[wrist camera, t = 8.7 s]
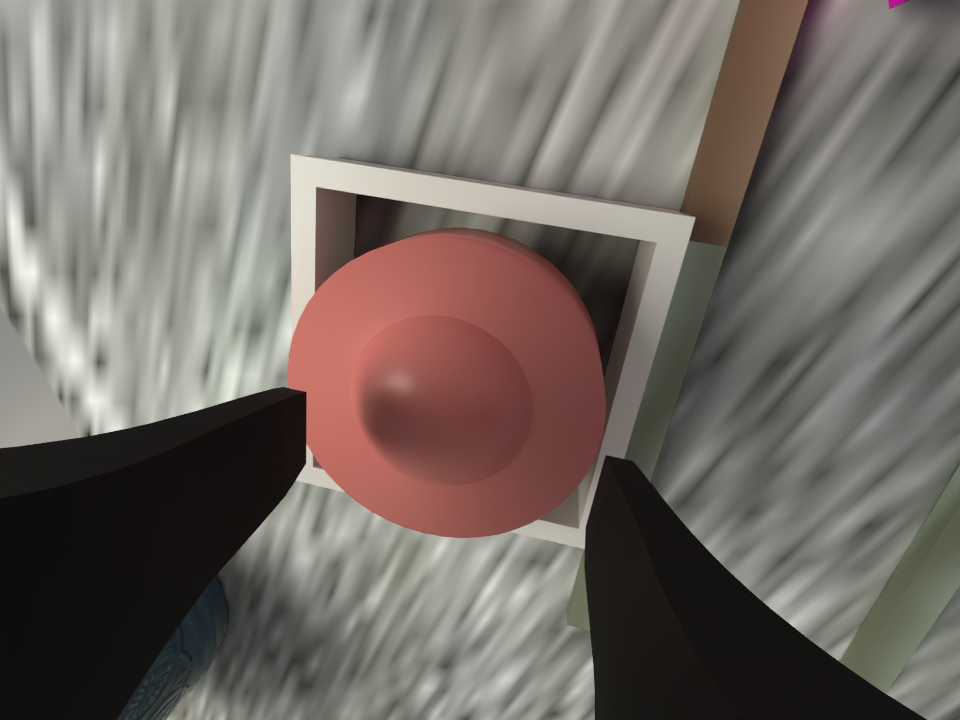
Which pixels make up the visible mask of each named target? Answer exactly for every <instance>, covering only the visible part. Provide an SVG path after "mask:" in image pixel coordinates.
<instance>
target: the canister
mask: <svg viewBox="0 0 960 720" xmlns="http://www.w3.org/2000/svg"><path fill="white" fill-rule="evenodd" d="M226 628H227V608H226V603H225V599H224V595H223V592H222V590H221V587H220V585H219V582H218V580H217V578H216V576H215V578H214V579H213V580H212V581H211V583H210V584H209V585H208V586H207V587H206V589H205V590H204V592H203V593H202V594H201V596H200V597H199V599H198V600H197V601H196V603H195V604H194V606H193V607H192V608H191V610H190V611H189V612H188V614H187V615H186V617H185V618H184V619H183V621H182V622H181V624H180V625H179V626H178V628H177V629H176V631H175V632H174V634H173V635H172V637H171V638H170V640H169V641H168V643H167V644H166V645H165V647H164V648H163V650H162V651H161V653H160V654H159V656H158V657H157V659H156V660H155V662H154V663H153V665H152V666H151V668H150V669H149V671H148V672H147V673H146V675H145V677H144V678H143V680H142V681H141V683H140V684H139V686H138V688H137V689H136V691H135V692H134V694H133V695H132V697H131V699H130V700H129V702H128V703H127V705H126V706H125V708H124V710H123V711H122V713H121V714H120V716H119V717H118V719H117V720H166V719H167V718H168V717H169V715H170V714H171V712H172V711H173V710H174V708H175V707H176V706H177V704H178V703H179V702H180V700H181V699H182V698H183V697H185V696H186V695H187V694H189V693H190V692H191V691H192V690H193V689H194V687H195V686H196V685H197V683H198V682H199V680H200V678H201V677H202V676H203V675H204V674H205V672H206V671H207V670H208V668H209V667H210V665H211V663H212V661H213V659H214V656H215V653H216V650H217V649H218V647H219V646H220V644H221V642H222V640H223V638H224V636H225V632H226Z"/></svg>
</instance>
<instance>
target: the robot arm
mask: <svg viewBox="0 0 960 720" xmlns="http://www.w3.org/2000/svg"><path fill="white" fill-rule="evenodd" d="M306 412H307V392H304V391H300V390H295V389H290V388H285V387H281V388H275V389H271V390H267V391H263V392H259V393H255V394H252V395H249V396H245V397H242V398H238V399H235V400H232V401H228V402H225V403H222V404H218V405H215V406H212V407H208V408H205V409H202V410H198V411H195V412H191V413H187V414H184V415H180V416H176V417H172V418H169V419H165V420H161V421H157V422H154V423H150V424H146V425H142V426H137V427H133V428H128V429H124V430H119V431H114V432H109V433H104V434H98V435H93V436H88V437H82V438H75V439H68V440H62V441H54V442H47V443H41V444H33V445H26V446H18V447H9V448H0V720H117V719H118V717H119V716H120V714H121V713H122V711H123V710H124V708H125V706H126V705H127V703H128V702H129V700H130V699H131V697H132V695H133V694H134V692H135V691H136V689H137V688H138V686H139V684H140V683H141V681H142V680H143V678H144V677H145V675H146V673H147V672H148V671H149V669H150V668H151V666H152V665H153V663H154V662H155V660H156V659H157V657H158V656H159V654H160V653H161V651H162V650H163V648H164V647H165V645H166V644H167V643H168V641H169V640H170V638H171V637H172V635H173V634H174V632H175V631H176V629H177V628H178V626H179V625H180V624H181V622H182V621H183V619H184V618H185V617H186V615H187V614H188V612H189V611H190V610H191V608H192V607H193V606H194V604H195V603H196V601H197V600H198V599H199V597H200V596H201V594H202V593H203V592H204V590H205V589H206V587H207V586H208V585H209V584H210V583H211V581H212V580H213V579H214V578H215V576H216V575H217V574H218V573H219V571H220V570H221V569H222V568H223V567H224V566H225V564H226V563H227V562H228V561H229V560H230V559H231V558H232V557H233V555H234V554H235V553H236V552H237V551H238V550H239V549H240V547H241V546H242V545H243V544H244V543H245V542H246V541H247V540H248V538H249V537H250V536H251V535H252V534H253V533H254V532H255V530H256V529H257V528H258V527H259V526H260V525H261V524H262V523H263V521H264V520H265V519H266V518H267V517H268V516H269V514H270V513H271V512H272V511H273V510H274V509H275V507H276V506H277V505H278V504H279V503H280V502H281V500H282V499H283V498H284V497H285V495H286V494H287V492H288V491H289V489H290V488H291V487H292V485H293V484H294V482H295V481H296V479H297V477H298V476H299V474H300V473H301V471H302V469H303V468H304V466H305V465H306ZM584 570H585V582H586V593H587V603H588V614H589V624H590V634H591V645H592V655H593V665H594V683H595V720H926V719H925V718H923V717H922V716H920V715H919V714H917V713H915V712H914V711H912V710H911V709H909V708H907V707H906V706H904V705H903V704H901V703H899V702H898V701H896V700H895V699H893V698H891V697H890V696H888V695H887V694H885V693H884V692H882V691H881V690H879V689H878V688H876V687H875V686H873V685H872V684H870V683H869V682H868V681H866V680H865V679H863V678H862V677H860V676H859V675H858V674H856V673H855V672H853V671H852V670H850V669H849V668H848V667H846V666H845V665H843V664H842V663H840V662H839V661H838V660H836V659H835V658H833V657H832V656H831V655H829V654H828V653H827V652H825V651H824V650H822V649H821V648H820V647H818V646H817V645H816V644H814V643H813V642H812V641H810V640H809V639H808V638H806V637H805V636H804V635H803V634H801V633H800V632H799V631H798V630H796V629H795V628H794V627H793V626H791V625H790V624H789V623H788V622H786V621H785V620H784V619H783V618H781V617H780V616H779V615H778V614H776V613H775V612H774V611H773V610H771V609H770V608H769V607H768V606H767V605H766V604H764V603H763V602H762V601H761V600H760V599H759V598H757V597H756V596H755V595H754V594H753V593H752V592H751V591H750V590H748V589H747V588H746V587H745V586H744V585H743V584H742V583H741V582H740V581H739V580H738V579H737V578H735V577H734V576H733V575H732V574H731V573H730V572H729V571H728V570H727V569H726V568H725V567H724V566H723V565H722V564H721V563H720V562H719V561H718V560H717V559H716V558H715V557H714V556H713V555H712V554H711V553H710V552H709V551H708V550H707V549H706V548H705V547H704V546H703V545H702V543H701V542H700V541H699V540H698V539H697V538H696V537H695V536H694V535H693V534H692V533H691V532H690V530H689V529H688V528H687V527H686V526H685V525H684V524H683V522H682V521H681V520H680V519H679V518H678V516H677V515H676V514H675V513H674V512H673V510H672V509H671V508H670V507H669V506H668V504H667V503H666V502H665V501H664V499H663V498H662V497H661V496H660V494H659V493H658V492H657V491H656V489H655V488H654V487H653V485H652V484H651V483H650V482H649V480H648V479H647V478H646V476H645V475H644V474H643V472H642V471H641V470H640V469H639V467H638V466H637V465H636V464H635V463H634V461H632V460H627V459H622V458H618V457H613V456H608V455H605V459H604V463H603V466H602V470H601V473H600V477H599V481H598V484H597V488H596V491H595V495H594V499H593V502H592V506H591V509H590V513H589V517H588V520H587V524H586V531H585V559H584Z"/></svg>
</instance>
